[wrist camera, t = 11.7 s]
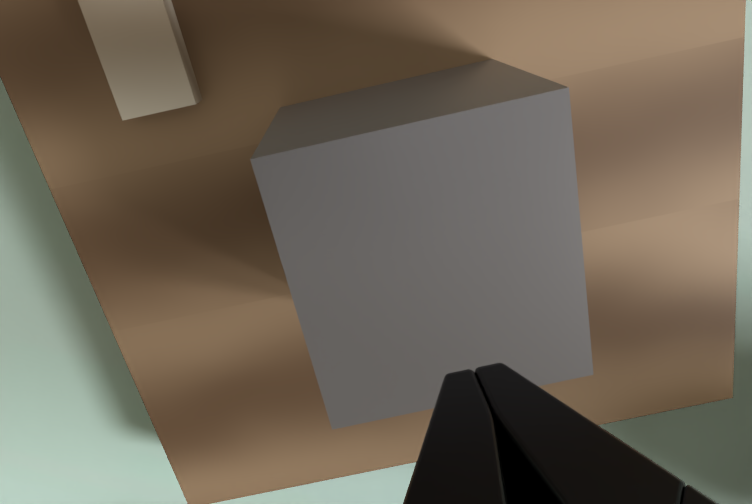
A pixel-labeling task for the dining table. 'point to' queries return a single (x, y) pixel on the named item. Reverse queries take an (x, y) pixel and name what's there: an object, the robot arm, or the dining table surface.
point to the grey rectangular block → (429, 234)
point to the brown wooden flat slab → (253, 231)
